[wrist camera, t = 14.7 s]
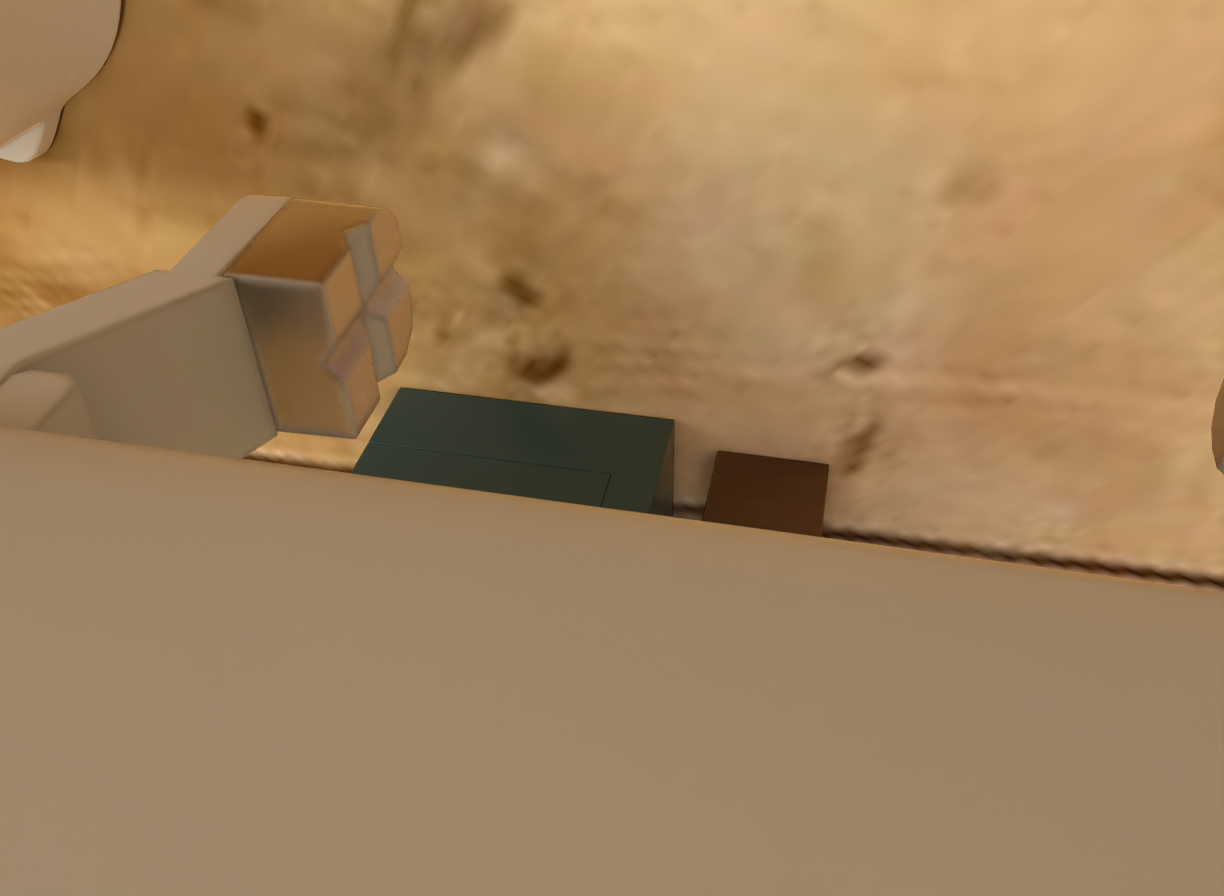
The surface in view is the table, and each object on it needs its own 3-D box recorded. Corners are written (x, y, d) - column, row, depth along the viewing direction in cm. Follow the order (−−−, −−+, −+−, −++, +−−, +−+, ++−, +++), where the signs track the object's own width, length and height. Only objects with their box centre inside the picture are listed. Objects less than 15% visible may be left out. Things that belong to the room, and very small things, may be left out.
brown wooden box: (707, 648, 60) (671, 833, 52) (717, 450, 51) (675, 637, 43) (802, 663, 59) (780, 853, 51) (829, 464, 50) (807, 657, 42)
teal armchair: (444, 624, 64) (379, 776, 57) (399, 387, 53) (312, 537, 45) (670, 660, 62) (633, 823, 54) (674, 420, 50) (628, 583, 43)
